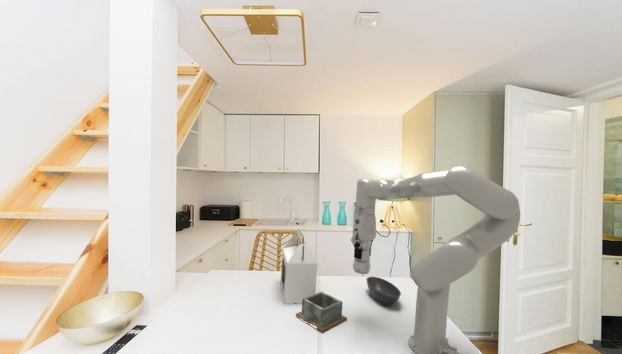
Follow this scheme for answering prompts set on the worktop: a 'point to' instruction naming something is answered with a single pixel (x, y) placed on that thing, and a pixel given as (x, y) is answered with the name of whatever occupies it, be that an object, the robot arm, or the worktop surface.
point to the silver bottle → (363, 258)
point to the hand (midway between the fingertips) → (362, 256)
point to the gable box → (297, 270)
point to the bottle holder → (322, 311)
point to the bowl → (383, 291)
